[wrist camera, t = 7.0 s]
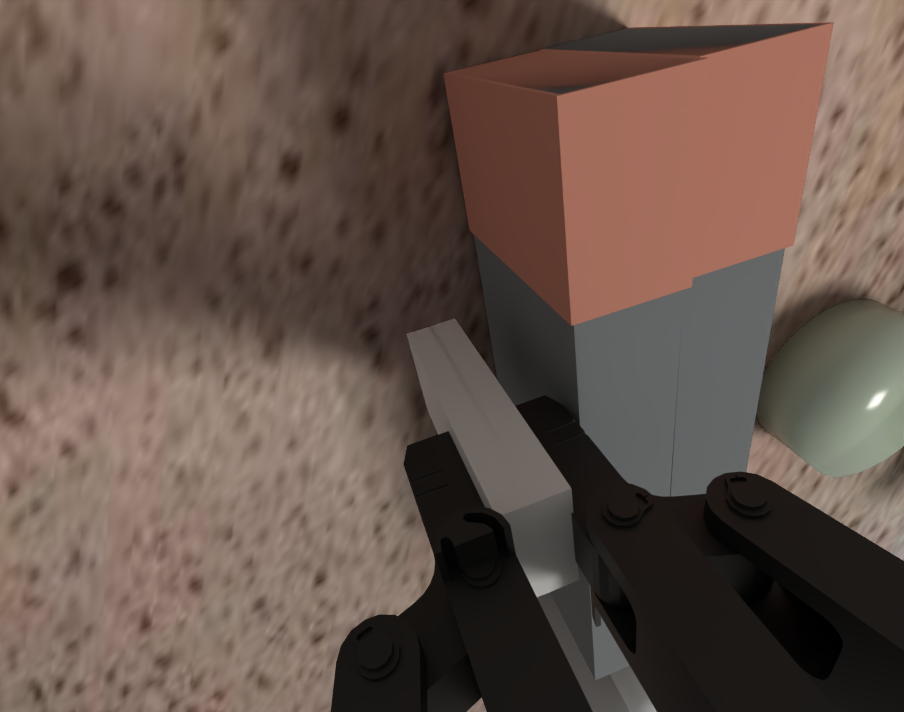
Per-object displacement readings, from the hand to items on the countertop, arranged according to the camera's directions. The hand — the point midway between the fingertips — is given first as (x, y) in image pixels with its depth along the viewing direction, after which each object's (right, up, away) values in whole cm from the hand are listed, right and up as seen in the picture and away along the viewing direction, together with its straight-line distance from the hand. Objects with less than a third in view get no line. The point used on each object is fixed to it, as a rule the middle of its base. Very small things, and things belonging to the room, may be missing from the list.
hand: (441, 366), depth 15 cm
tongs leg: (+3, 0, +3) cm, 4 cm away
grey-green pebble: (+17, 0, +9) cm, 19 cm away
